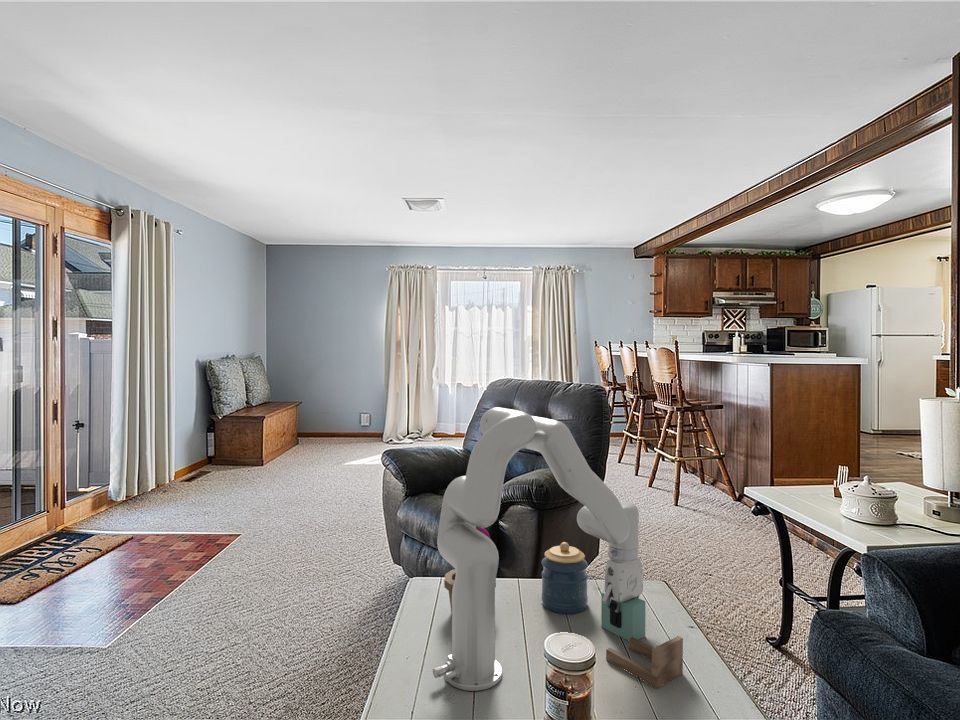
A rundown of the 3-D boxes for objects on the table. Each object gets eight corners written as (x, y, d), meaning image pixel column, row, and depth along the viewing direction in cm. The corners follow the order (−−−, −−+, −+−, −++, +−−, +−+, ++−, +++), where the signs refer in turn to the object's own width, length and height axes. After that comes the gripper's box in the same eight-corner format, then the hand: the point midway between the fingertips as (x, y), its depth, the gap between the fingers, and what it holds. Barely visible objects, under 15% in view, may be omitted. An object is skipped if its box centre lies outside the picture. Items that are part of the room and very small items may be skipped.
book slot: (656, 688, 119) (656, 651, 119) (606, 660, 130) (606, 625, 130) (682, 673, 124) (682, 638, 124) (632, 647, 136) (632, 614, 135)
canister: (556, 618, 150) (556, 553, 150) (533, 599, 162) (533, 538, 162) (597, 609, 155) (597, 546, 155) (571, 591, 167) (571, 532, 167)
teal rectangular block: (632, 642, 138) (632, 606, 138) (601, 626, 146) (601, 592, 146) (645, 636, 141) (645, 601, 141) (614, 621, 149) (614, 587, 149)
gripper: (612, 563, 135) (612, 638, 135) (656, 549, 145) (656, 618, 145) (589, 554, 141) (589, 626, 141) (632, 541, 151) (632, 608, 151)
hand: (623, 621), depth 143 cm, fingers closed on teal rectangular block, 5 cm apart
